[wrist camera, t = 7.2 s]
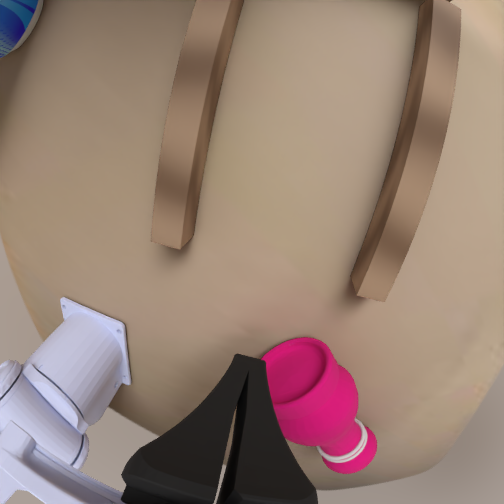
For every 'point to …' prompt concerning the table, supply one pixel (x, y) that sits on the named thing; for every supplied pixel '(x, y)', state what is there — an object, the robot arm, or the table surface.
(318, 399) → the pepper mill
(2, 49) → the beer can
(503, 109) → the table surface
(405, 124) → the u rest
